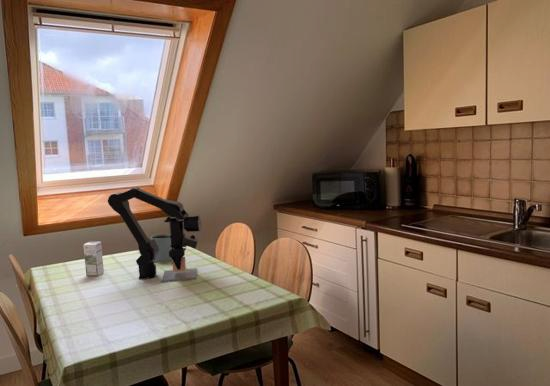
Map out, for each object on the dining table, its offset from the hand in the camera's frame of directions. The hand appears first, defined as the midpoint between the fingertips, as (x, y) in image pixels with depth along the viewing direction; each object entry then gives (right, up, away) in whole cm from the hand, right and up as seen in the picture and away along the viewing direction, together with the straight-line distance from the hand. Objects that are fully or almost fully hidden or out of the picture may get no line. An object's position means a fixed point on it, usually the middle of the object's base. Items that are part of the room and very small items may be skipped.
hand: (179, 267), depth 192 cm
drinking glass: (-14, -1, +28) cm, 31 cm away
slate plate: (0, -4, 0) cm, 4 cm away
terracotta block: (0, -1, 0) cm, 1 cm away
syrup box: (-39, -5, +8) cm, 40 cm away
